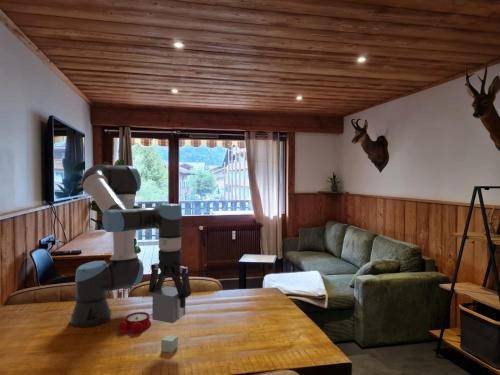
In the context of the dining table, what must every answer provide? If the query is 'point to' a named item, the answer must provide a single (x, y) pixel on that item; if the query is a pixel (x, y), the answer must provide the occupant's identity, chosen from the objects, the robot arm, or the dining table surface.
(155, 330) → the dining table surface
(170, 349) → the block
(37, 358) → the dining table surface
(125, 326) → the alarm clock
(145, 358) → the dining table surface
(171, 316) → the grey matte cube
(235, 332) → the dining table surface
